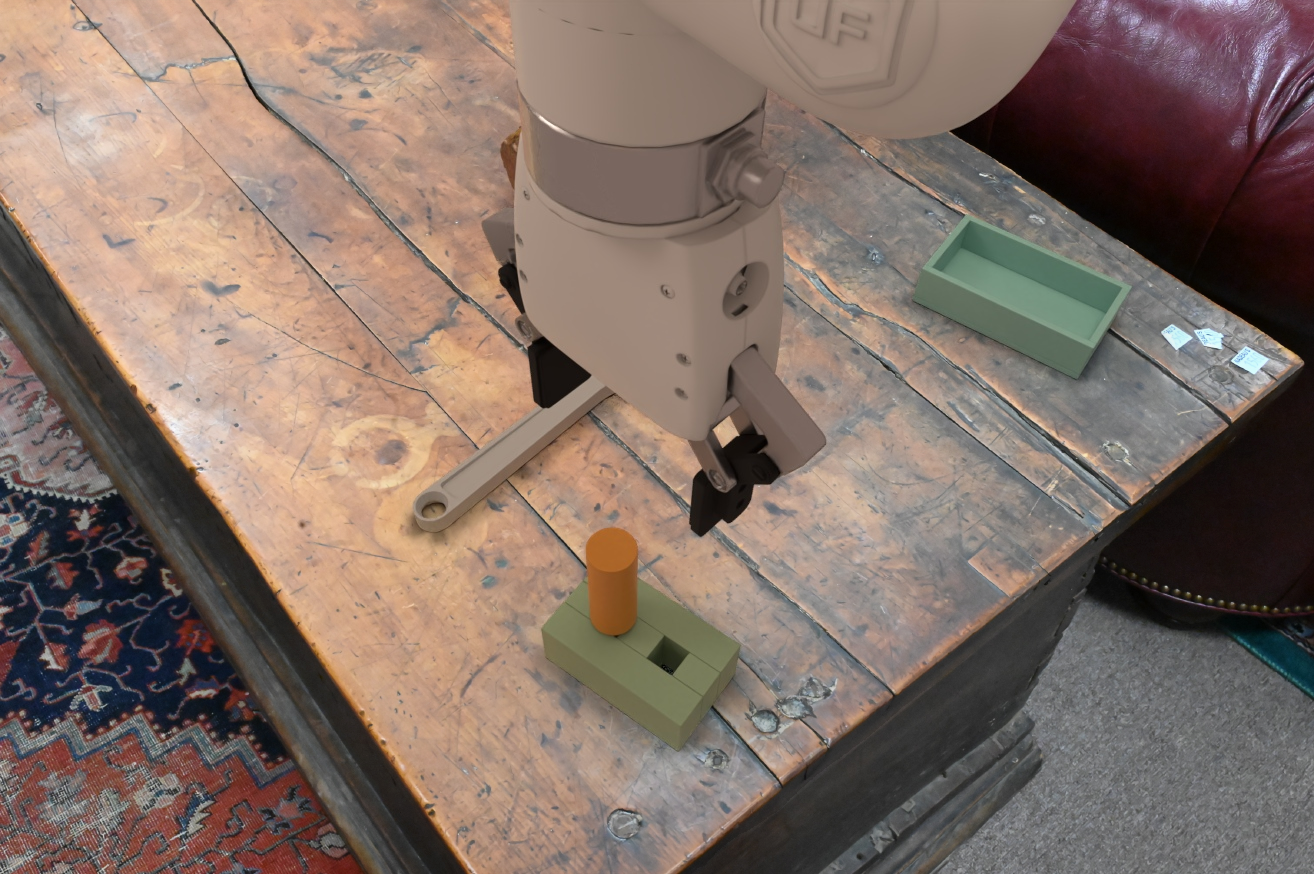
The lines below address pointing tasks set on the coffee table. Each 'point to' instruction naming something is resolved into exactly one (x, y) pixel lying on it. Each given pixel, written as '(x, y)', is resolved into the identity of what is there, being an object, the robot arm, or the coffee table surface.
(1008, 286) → the tray
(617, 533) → the orange handle
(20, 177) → the coffee table surface
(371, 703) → the coffee table surface
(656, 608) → the holder
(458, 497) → the adjustable wrench
